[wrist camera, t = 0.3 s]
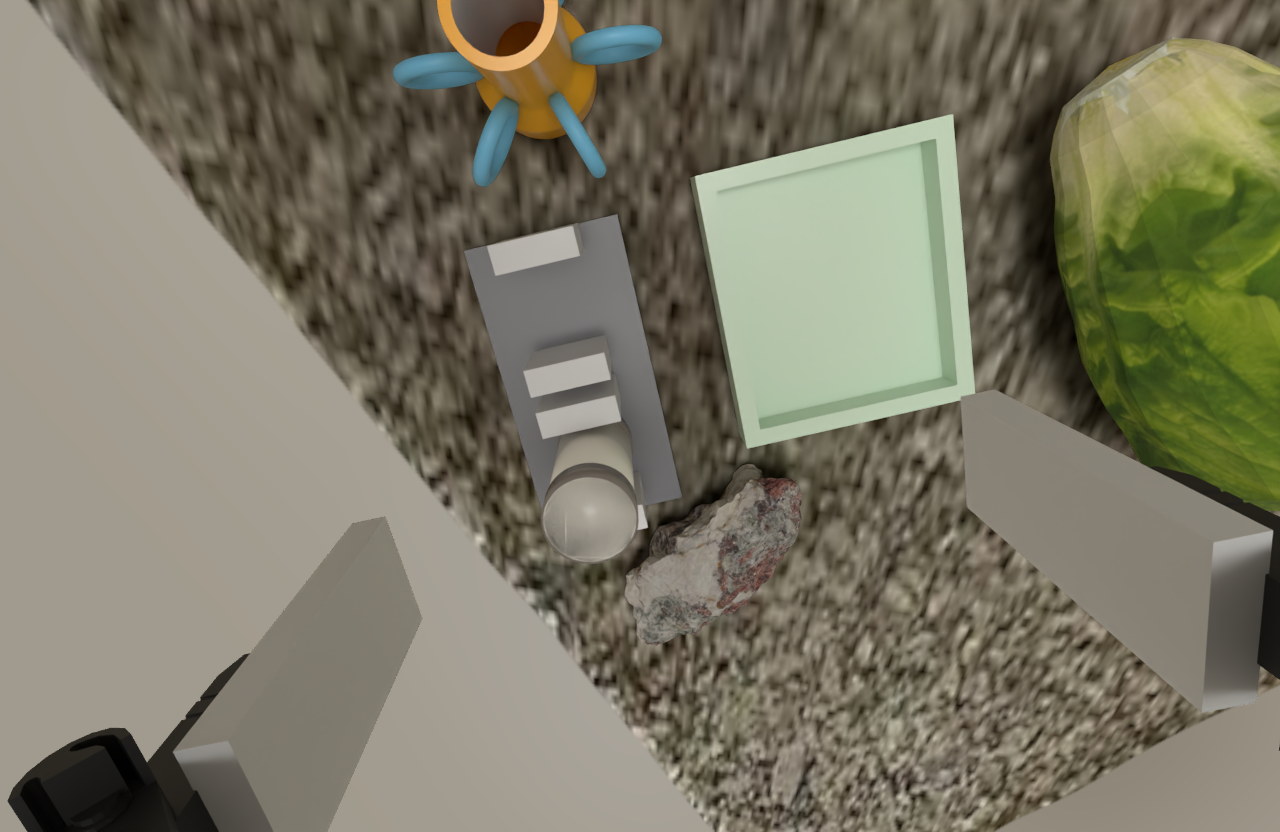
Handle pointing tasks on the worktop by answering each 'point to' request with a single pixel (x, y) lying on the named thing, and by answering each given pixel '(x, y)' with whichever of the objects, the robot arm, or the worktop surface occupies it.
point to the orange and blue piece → (525, 71)
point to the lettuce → (1179, 257)
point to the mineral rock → (714, 556)
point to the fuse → (592, 495)
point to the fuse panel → (573, 348)
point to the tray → (839, 281)
